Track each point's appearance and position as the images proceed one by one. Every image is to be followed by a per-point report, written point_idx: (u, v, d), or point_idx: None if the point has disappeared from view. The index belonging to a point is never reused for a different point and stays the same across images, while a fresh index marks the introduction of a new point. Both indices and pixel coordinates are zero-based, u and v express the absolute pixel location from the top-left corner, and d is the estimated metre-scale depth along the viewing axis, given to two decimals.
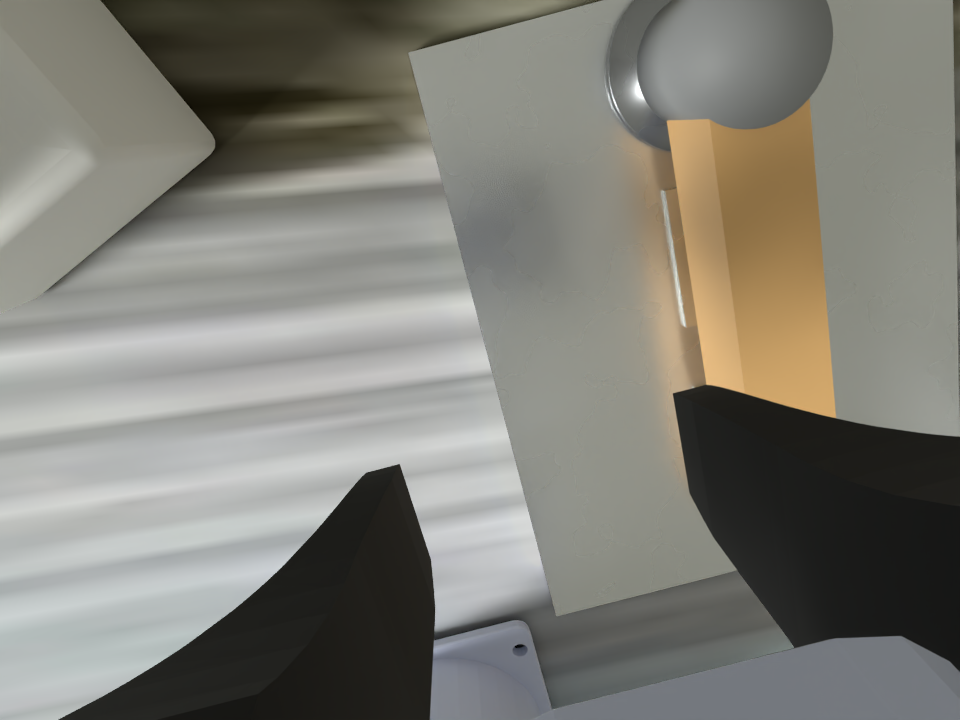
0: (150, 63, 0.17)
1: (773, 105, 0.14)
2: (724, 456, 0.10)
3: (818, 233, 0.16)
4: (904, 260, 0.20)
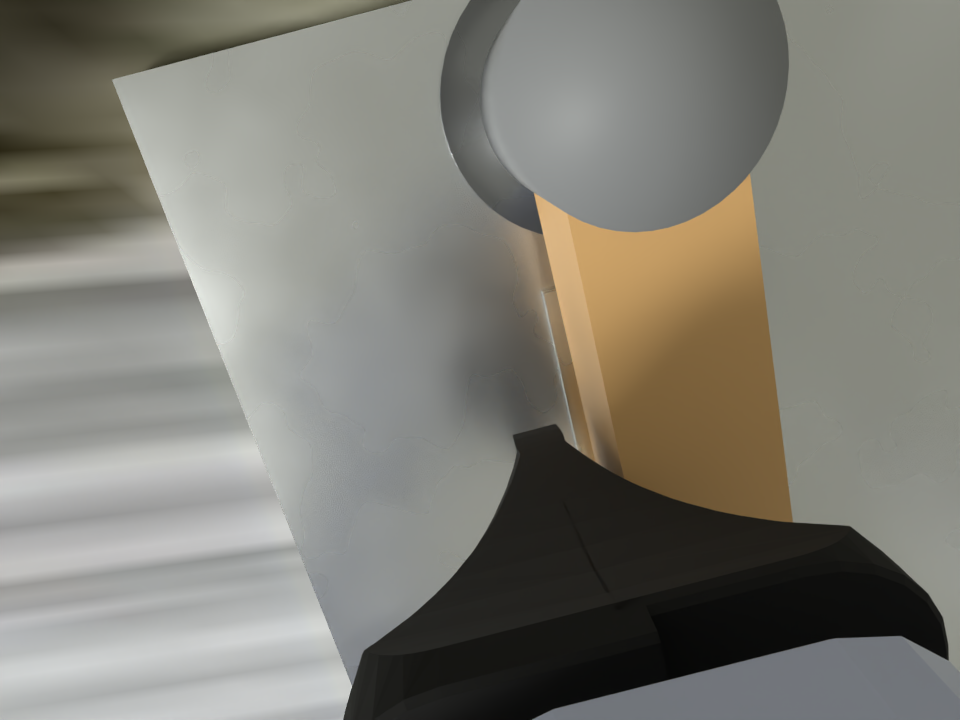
0: None
1: (682, 189, 0.08)
2: None
3: (773, 399, 0.09)
4: (914, 389, 0.13)
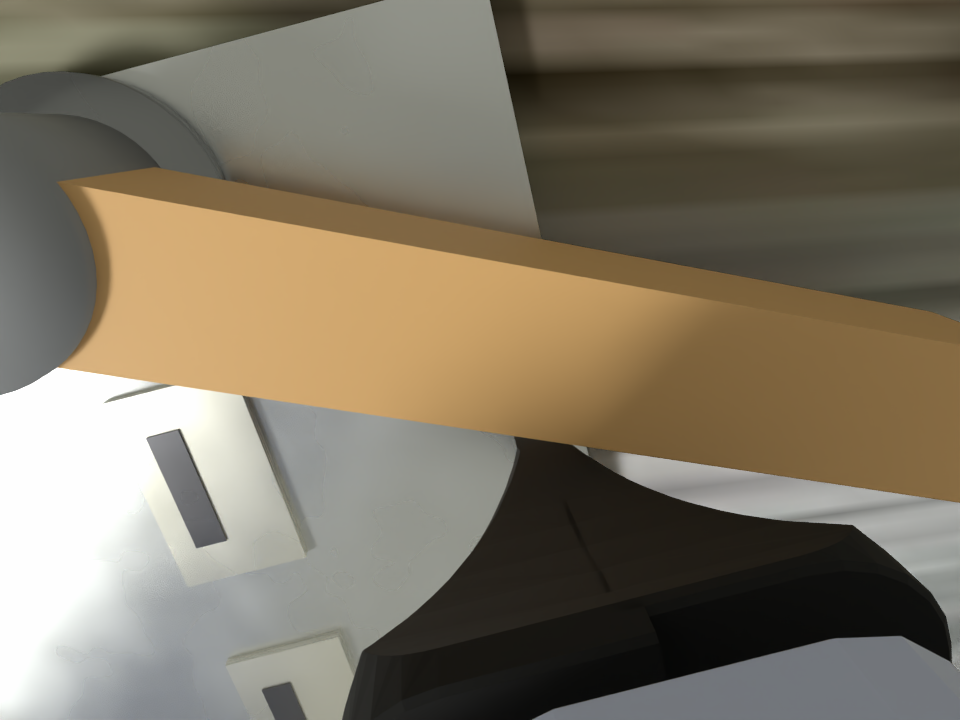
0: None
1: (51, 265, 0.08)
2: None
3: (337, 237, 0.08)
4: None
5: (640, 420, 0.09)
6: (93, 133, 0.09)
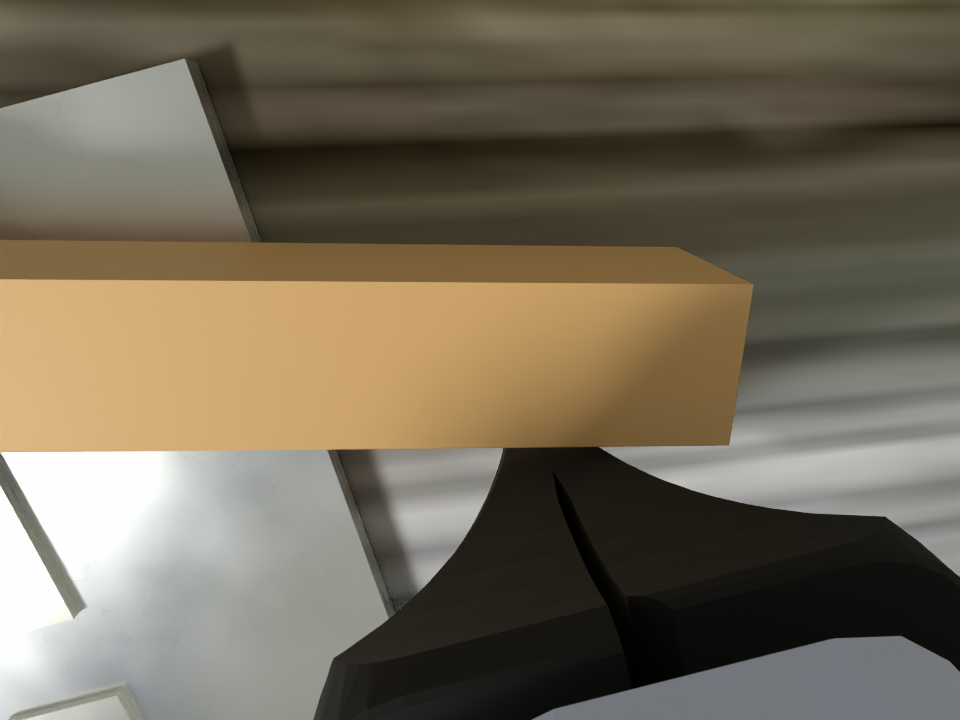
0: None
1: None
2: None
3: None
4: (280, 549, 0.13)
5: (301, 414, 0.09)
6: None
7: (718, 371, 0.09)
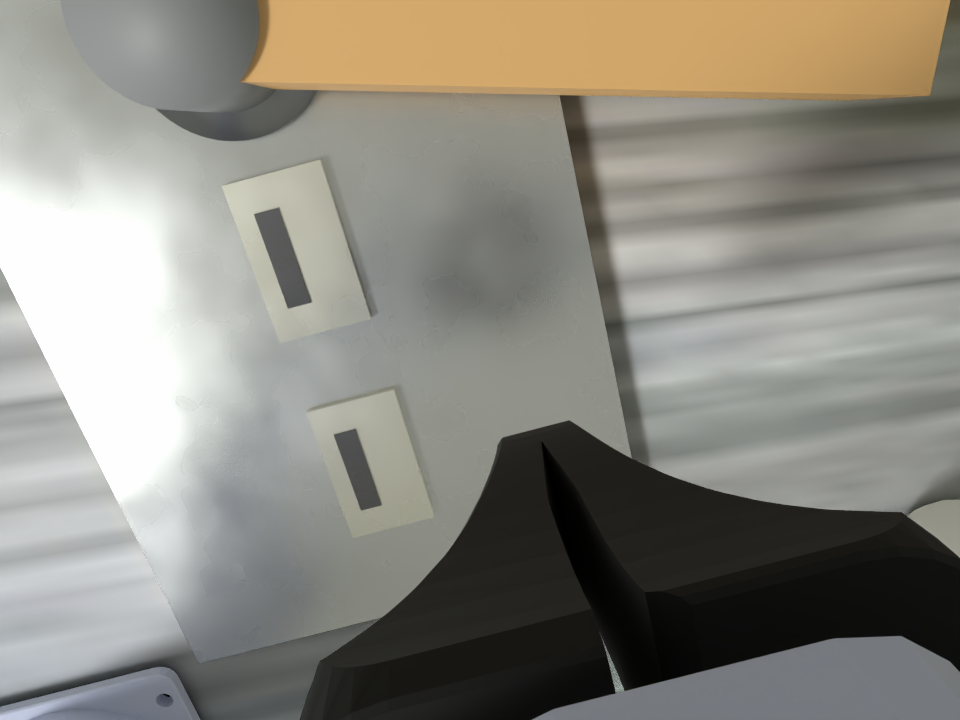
0: None
1: None
2: (563, 498, 0.10)
3: None
4: (530, 265, 0.17)
5: (641, 61, 0.12)
6: None
7: (927, 34, 0.13)
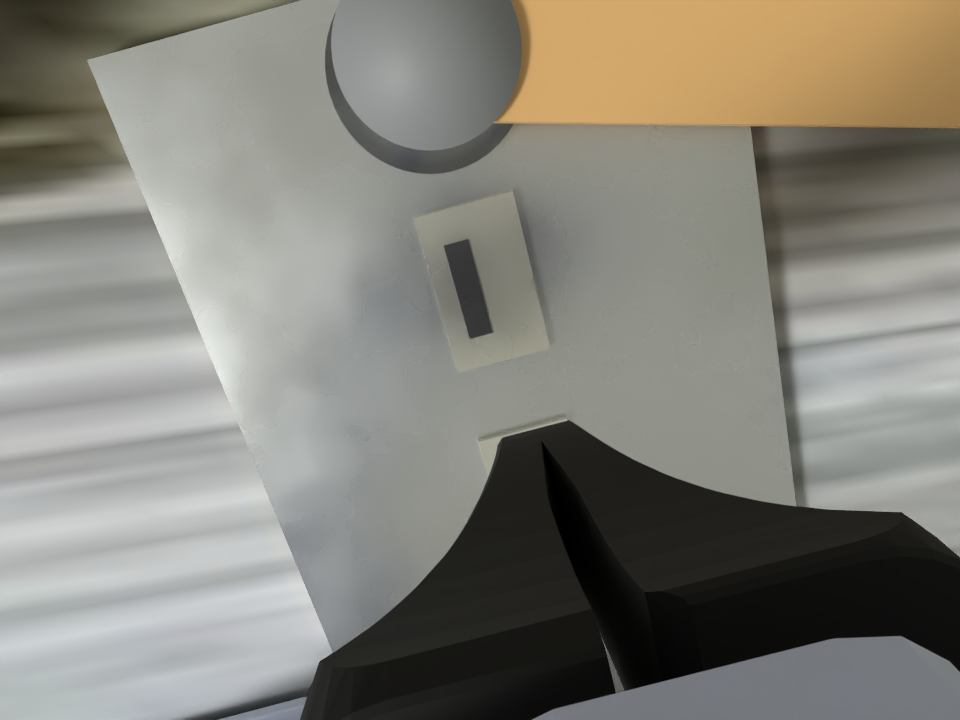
0: None
1: (499, 38, 0.12)
2: (563, 497, 0.10)
3: None
4: (708, 293, 0.17)
5: (888, 97, 0.12)
6: None
7: None
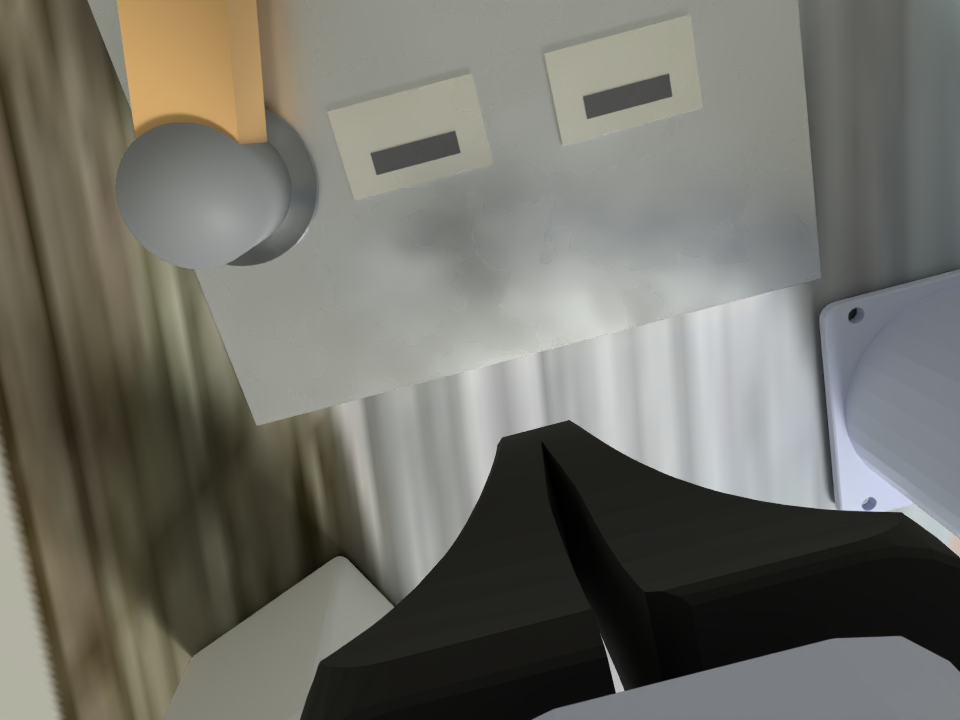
0: (285, 595, 0.23)
1: (174, 141, 0.15)
2: (564, 497, 0.10)
3: None
4: None
5: None
6: None
7: None
